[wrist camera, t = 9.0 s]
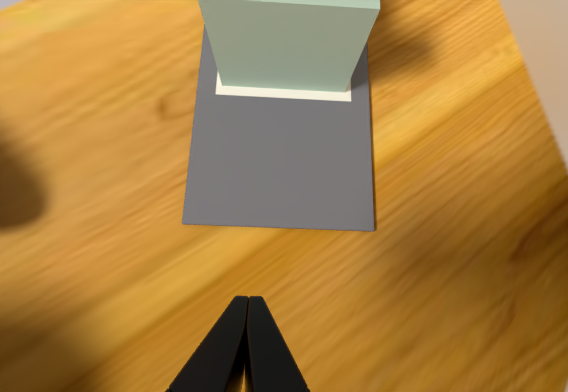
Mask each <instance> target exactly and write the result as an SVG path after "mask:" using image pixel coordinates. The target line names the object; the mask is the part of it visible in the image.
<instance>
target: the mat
mask: <svg viewBox="0 0 568 392" xmlns="http://www.w3.org/2000/svg"><path fill="white" fill-rule="evenodd" d="M182 224H189V225H216V226H242V227H269V228H295V229H322V230H348V231H374V215H373V188H372V162H371V135H370V109H369V82H368V56H367V41H366V44H365V46H364V48H363V51H362V53H361V55H360V58H359V60H358V62H357V65H356V67H355V69H354V71H353V74H352V76H351V78H350V81H349V83H348V85H347V88H346V90H345V92H326V91H308V90H290V89H272V88H254V87H235V86H222V84H221V80H220V76H219V73H218V69H217V66H216V62H215V59H214V55H213V52H212V48H211V44H210V41H209V37H208V34H207V30H206V27H205V24H204V33H203V42H202V51H201V59H200V68H199V77H198V86H197V95H196V104H195V112H194V121H193V130H192V139H191V148H190V156H189V165H188V174H187V183H186V192H185V201H184V209H183V218H182Z"/></svg>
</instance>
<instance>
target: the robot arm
mask: <svg viewBox="0 0 568 392" xmlns="http://www.w3.org/2000/svg"><path fill="white" fill-rule="evenodd" d="M244 369H245V392H310V390H309V389H308V388H307V384H306V382H305V380H304V378H303V376H302V374H301V372H300V370H299V368H298V366H297V364H296V362H295V360H294V358H293V356H292V354H291V352H290V350H289V348H288V346H287V344H286V342H285V340H284V338H283V336H282V334H281V332H280V330H279V328H278V327H277V325H276V323H275V321H274V319H273V317H272V315H271V313H270V311H269V309H268V307H267V305H266V303H265V301H264V299H263V297H261V296H250V297H249V298H248V296H235V297H234V298H233V300H232V301H231V302H230V304H229V305H228V307H227V308H226V309H225V311H224V312H223V313H222V315H221V316H220V317H219V319H218V320H217V322H216V323H215V324H214V326H213V327H212V328H211V330H210V331H209V332H208V334H207V335H206V337H205V338H204V339H203V341H202V342H201V343H200V345H199V346H198V348H197V349H196V350H195V352H194V353H193V354H192V356H191V357H190V358H189V360H188V361H187V363H186V364H185V365H184V367H183V368H182V369H181V371H180V372H179V373H178V375H177V376H176V378H175V379H174V380H173V382H172V383H171V384H170V386H169V388H168V389H167V390H166V391H165V392H241V389H242V383H243V377H244Z"/></svg>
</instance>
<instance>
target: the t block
mask: <svg viewBox="0 0 568 392" xmlns="http://www.w3.org/2000/svg"><path fill="white" fill-rule="evenodd" d="M198 2H199V5H200V9H201V12H202V16H203V19H204V23H205V27H206V30H207V34H208V37H209V41H210V44H211V48H212V52H213V55H214V59H215V62H216V66H217V69H218V73H219V76H220V80H221V84H222V86H235V87H254V88H272V89H290V90H308V91H326V92H345V90H346V88H347V85H348V83H349V81H350V78H351V76H352V74H353V71H354V69H355V67H356V65H357V62H358V60H359V58H360V55H361V53H362V51H363V48H364V46H365V44H366V41H367V39H368V37H369V34H370V32H371V30H372V27H373V25H374V23H375V20H376V18H377V16H378V13H379V11H380V0H198Z"/></svg>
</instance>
